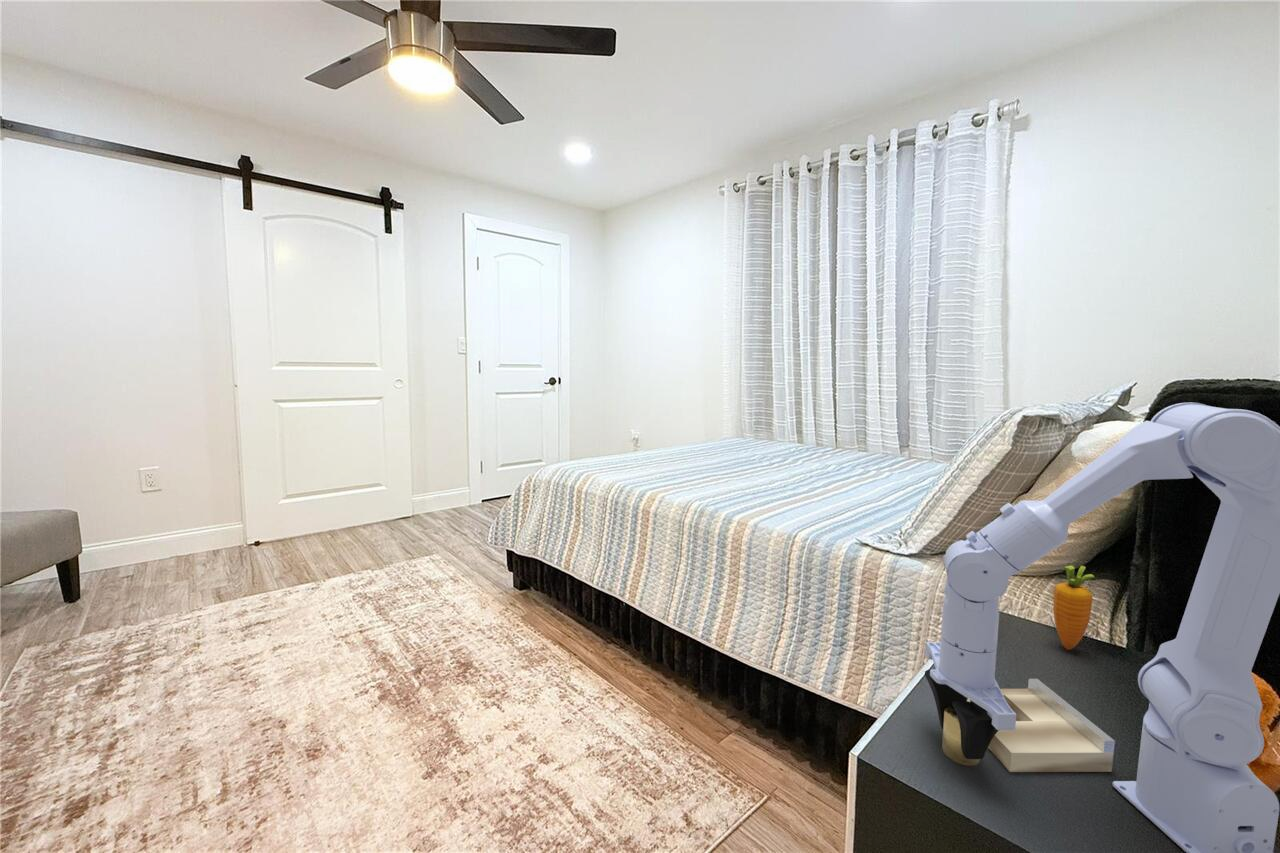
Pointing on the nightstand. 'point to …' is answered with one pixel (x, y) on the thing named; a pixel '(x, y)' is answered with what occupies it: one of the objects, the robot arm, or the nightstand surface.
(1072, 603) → the carrot
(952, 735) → the bushing
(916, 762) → the nightstand surface
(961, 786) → the nightstand surface
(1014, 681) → the nightstand surface
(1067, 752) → the jig
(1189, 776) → the robot arm
